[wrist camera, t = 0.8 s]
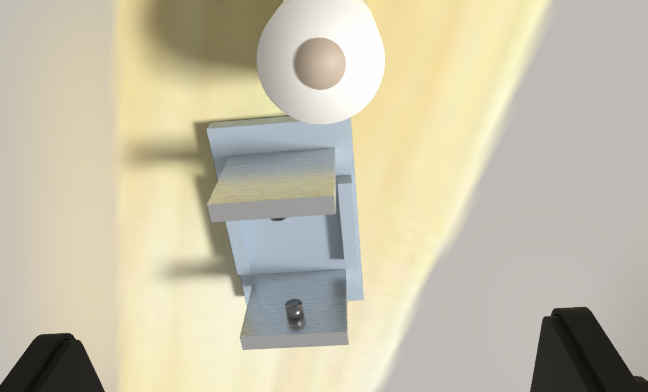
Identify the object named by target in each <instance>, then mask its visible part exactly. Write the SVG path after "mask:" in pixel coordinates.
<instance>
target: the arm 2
mask: <svg viewBox="0 0 648 392" xmlns="http://www.w3.org/2000/svg"><path fill="white" fill-rule="evenodd" d="M240 339H241V343H242V348H243V350H248V349H269V348H290V347H310V346H331V345H349V341H348V298H347V274H346V269H338V270H321V271H304V272H287V273H270V274H255V276H254V280H253V284H252V288H251V292H250V297H249V301H248V305H247V309H246V313H245V318H244V322H243V326H242V330H241V334H240Z"/></svg>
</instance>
